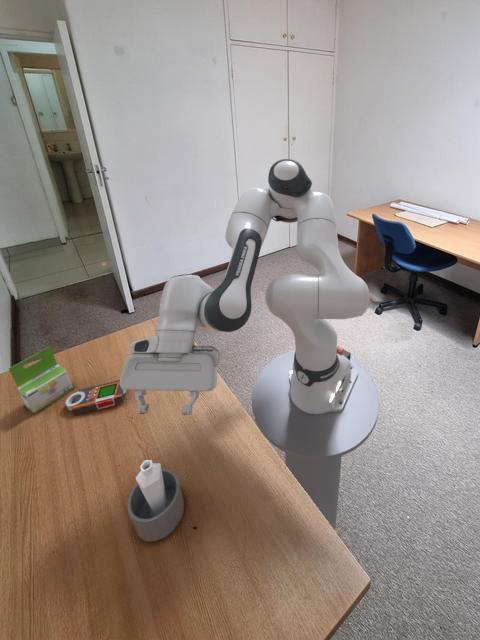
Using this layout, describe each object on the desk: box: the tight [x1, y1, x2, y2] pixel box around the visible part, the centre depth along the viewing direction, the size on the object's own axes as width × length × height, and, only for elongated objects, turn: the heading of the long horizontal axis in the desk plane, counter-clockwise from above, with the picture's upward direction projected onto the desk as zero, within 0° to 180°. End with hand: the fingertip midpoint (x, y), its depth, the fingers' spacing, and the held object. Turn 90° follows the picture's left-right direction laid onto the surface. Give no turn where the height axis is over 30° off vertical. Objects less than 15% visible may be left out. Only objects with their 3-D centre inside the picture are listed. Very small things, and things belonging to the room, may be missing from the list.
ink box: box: [8, 345, 74, 415], centre depth 90 cm, size 10×5×14 cm, turn 148°
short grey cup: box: [127, 468, 185, 542], centre depth 66 cm, size 9×9×7 cm
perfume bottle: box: [135, 459, 169, 517], centre depth 64 cm, size 5×4×15 cm
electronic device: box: [64, 379, 127, 416], centre depth 92 cm, size 7×3×15 cm
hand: (164, 414), depth 68 cm, fingers open, 8 cm apart
